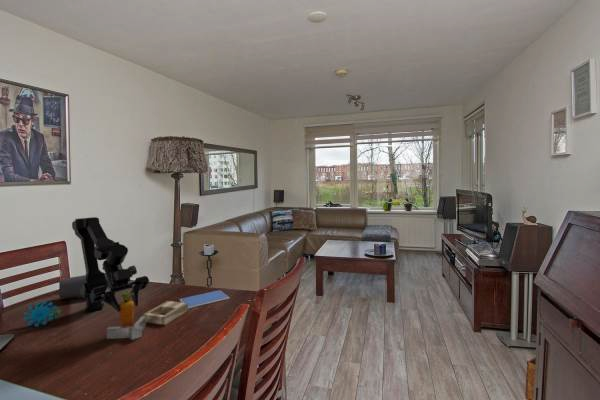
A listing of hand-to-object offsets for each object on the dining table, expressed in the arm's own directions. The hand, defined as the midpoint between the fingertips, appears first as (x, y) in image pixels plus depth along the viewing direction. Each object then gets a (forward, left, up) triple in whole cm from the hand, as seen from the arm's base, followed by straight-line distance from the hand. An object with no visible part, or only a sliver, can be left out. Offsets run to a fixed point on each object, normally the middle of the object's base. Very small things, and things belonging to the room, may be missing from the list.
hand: (128, 308), depth 114 cm
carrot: (-1, -1, -9) cm, 9 cm away
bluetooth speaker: (-50, -19, -9) cm, 54 cm away
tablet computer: (-21, +29, -10) cm, 38 cm away
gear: (-24, -30, -9) cm, 40 cm away
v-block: (+2, +1, -9) cm, 9 cm away
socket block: (-10, +13, -9) cm, 18 cm away
